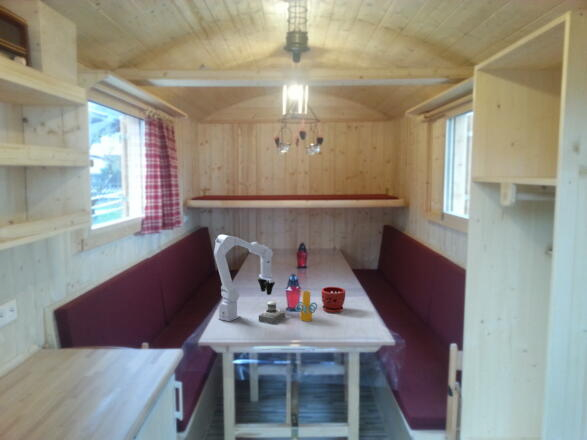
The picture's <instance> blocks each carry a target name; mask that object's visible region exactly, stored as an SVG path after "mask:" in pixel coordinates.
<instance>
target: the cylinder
mask: <svg viewBox="0 0 587 440" xmlns="http://www.w3.org/2000/svg"><path fill="white" fill-rule="evenodd" d="M301 293H302V296H301V297H302V300H301V301H299V302H298V303H297V304H296V306H295V308H294V309H295V311H296V312H297V313H300V320H301V321H303V322H311V321H312V320H313V313H315V312H316V310H317V308H318V304H317V303H316V302H315V301H314V302H311V291H310V290H307V289H305V290H302V292H301Z"/></svg>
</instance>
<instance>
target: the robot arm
mask: <svg viewBox="0 0 587 440" xmlns="http://www.w3.org/2000/svg"><path fill="white" fill-rule="evenodd" d="M214 244H215V246H214V249H213V250H214V251H213V257H214V259H215V263H216V266H217V269H218V274H219V277H220V278H219V279H220V281H221V286H220V289H221V292H220V294H221V295H220V296H221V297H222V298H223V300H222V303H221V304H220V305H219V306H218V307H219V308H218V314H219V317H217V319H218V320H220V321H221V320H222V321H225V322H231V321H234V320H237V319H238V318H241V315H239V314H238V301H239V298H240V293H239V291H237V288H236V286H235V285H234V283H233V281H232V280H233V279H232V277H231V273H230V269H229V268H230V267H229V264H228V261H227V258H226V254H227V253H228V252H229V251H230V250H231V249H232V248H233V247H236V246H238V247H243V248H246V249H248V252H249V253H251V254H254V255H257V256H259V258H260V274H258V278H257V281H258V284H259V287H260V292H263V293H264V292H266V295H267V296H270V295H272V292H273V288H274V286H275V284H276V282H275V281H274V276H273V275H272V257H273V255H274V252H273V250H272V249H271V248H270V247H267V246H266V245H265V244H260V243H259V242H257V241H253V242H251V243H250V242H249V241H246V240H244V239H241V238H240V237H236V236H232V235H226V234H224V233H222V234H219V235H218V236H217V238H216V239H215V243H214Z"/></svg>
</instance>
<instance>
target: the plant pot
mask: <svg viewBox="0 0 587 440" xmlns="http://www.w3.org/2000/svg"><path fill="white" fill-rule="evenodd" d="M345 301H346V289H344V288H342V287H340V286H326V287H323V288H322V289H321V302H322V304H323V305H322V306H321V309H323V311H325V312H326V313H335V314H337V313H341V312H342V311H343V310H344V303H345Z"/></svg>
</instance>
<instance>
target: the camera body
mask: <svg viewBox="0 0 587 440" xmlns="http://www.w3.org/2000/svg"><path fill="white" fill-rule="evenodd" d="M283 319H286V312H285V311H282V310H280V309H278V308H276V313H268V309H267V308H266V309H264V310H263V313H261V314H259V315H258V322H261V323H266V324H270V325H273V324H275V323H277V322H280V321H282V320H283Z"/></svg>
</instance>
